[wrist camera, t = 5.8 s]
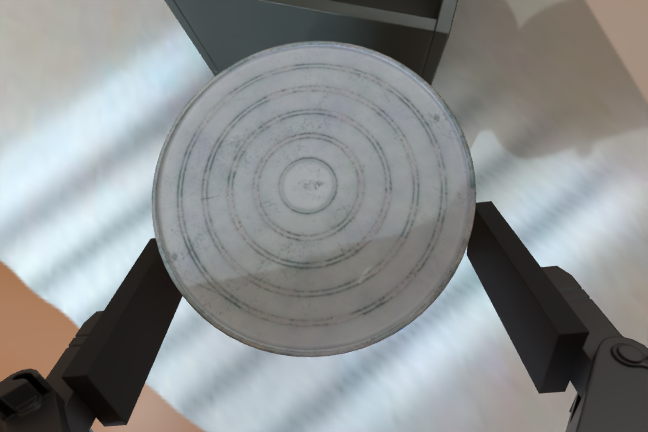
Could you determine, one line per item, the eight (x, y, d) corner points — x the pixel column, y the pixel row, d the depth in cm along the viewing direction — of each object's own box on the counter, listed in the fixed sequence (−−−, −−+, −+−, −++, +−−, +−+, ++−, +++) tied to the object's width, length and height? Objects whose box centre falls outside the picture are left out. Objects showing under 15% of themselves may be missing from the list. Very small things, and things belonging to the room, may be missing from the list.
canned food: (338, 123, 26) (324, -14, 14) (454, 242, 24) (551, 196, 12) (215, 228, 25) (92, 175, 13) (322, 361, 23) (286, 437, 11)
